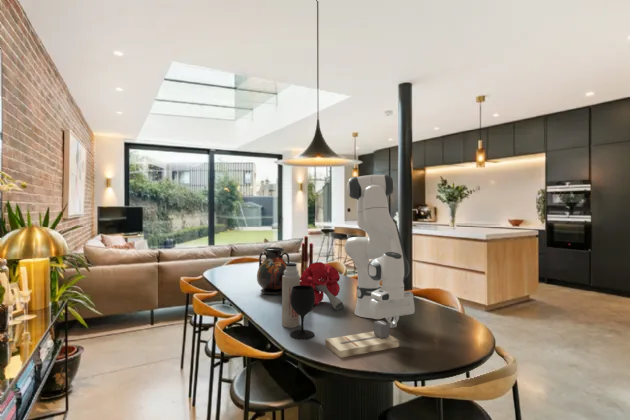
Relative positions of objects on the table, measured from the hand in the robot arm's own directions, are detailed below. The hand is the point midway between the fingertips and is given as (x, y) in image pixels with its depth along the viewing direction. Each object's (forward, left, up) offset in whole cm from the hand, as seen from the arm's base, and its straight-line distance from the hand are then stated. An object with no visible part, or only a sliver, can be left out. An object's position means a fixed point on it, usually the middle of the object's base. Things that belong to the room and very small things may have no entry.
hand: (392, 327), depth 141 cm
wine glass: (+31, -20, -6) cm, 38 cm away
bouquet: (+4, -59, -6) cm, 59 cm away
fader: (+5, 0, -3) cm, 6 cm away
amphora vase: (+20, -94, -6) cm, 96 cm away
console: (+14, 0, -6) cm, 15 cm away
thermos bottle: (+31, -34, -6) cm, 47 cm away
